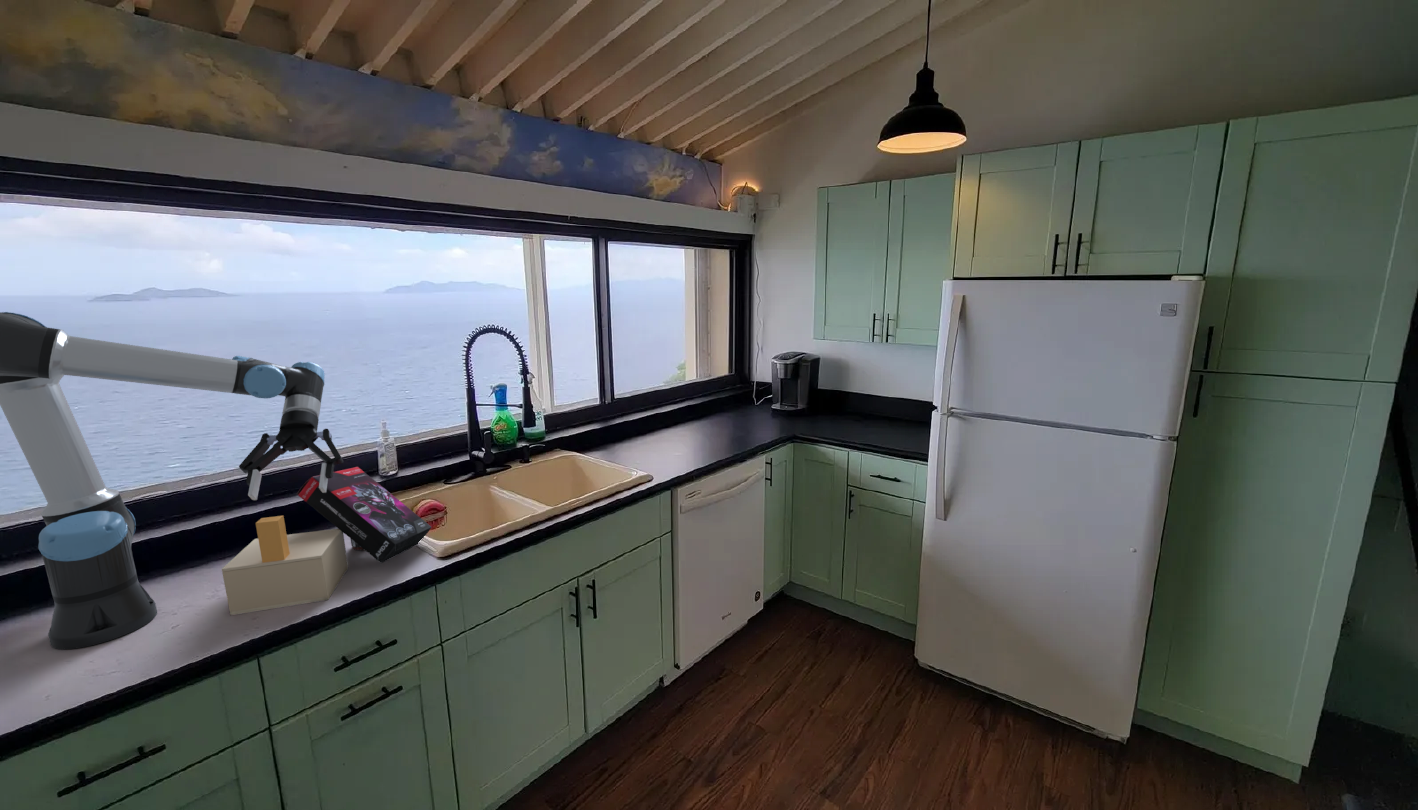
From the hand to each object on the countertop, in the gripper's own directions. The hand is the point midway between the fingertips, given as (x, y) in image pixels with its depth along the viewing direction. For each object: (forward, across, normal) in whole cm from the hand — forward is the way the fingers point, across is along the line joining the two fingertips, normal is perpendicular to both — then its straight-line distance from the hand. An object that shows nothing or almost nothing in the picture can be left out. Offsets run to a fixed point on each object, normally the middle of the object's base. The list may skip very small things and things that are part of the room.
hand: (288, 493), depth 128 cm
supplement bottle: (+4, -9, -28) cm, 30 cm away
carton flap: (+11, +1, -6) cm, 13 cm away
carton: (+18, +1, -13) cm, 22 cm away
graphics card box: (+10, -22, -17) cm, 30 cm away
